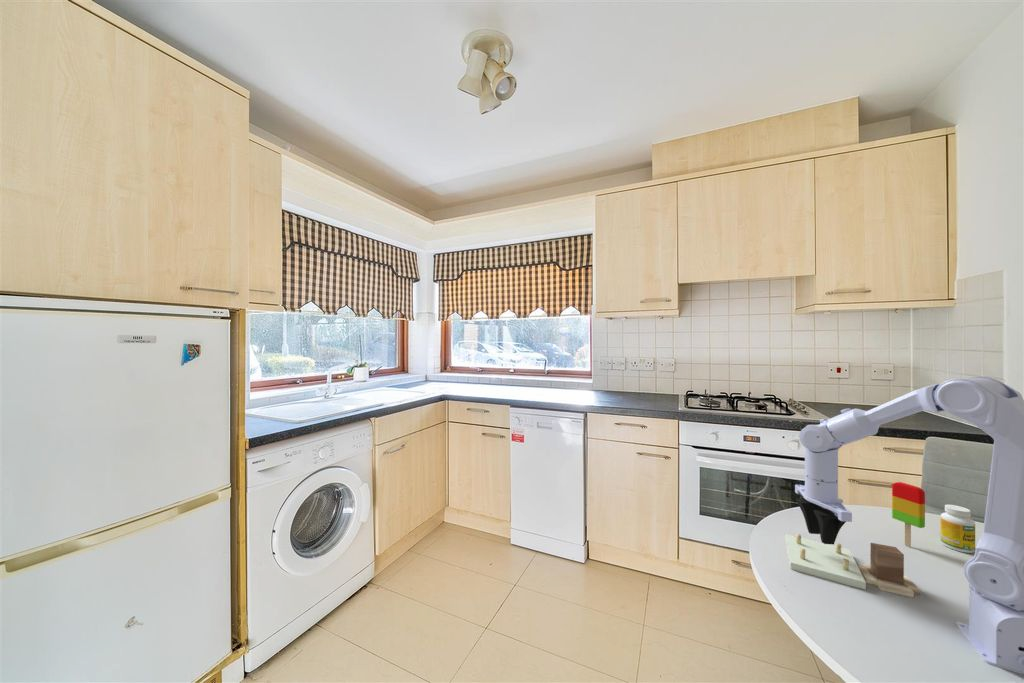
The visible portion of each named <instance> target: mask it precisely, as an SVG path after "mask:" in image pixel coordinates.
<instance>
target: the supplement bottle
mask: <svg viewBox="0 0 1024 683" xmlns="http://www.w3.org/2000/svg"><path fill="white" fill-rule="evenodd" d="M971 516H972V512H971V509H969V508H966V507H963V506H960V505H955V504H944V512H942V513H941V514H940V543H941V544H942V545H943V546H945V547H946V548H949V549H951V550H954V551H957V552H961V553H966V554H973V553H975V550H976V523H975V521H974V520H973V519H972V518H971Z"/></svg>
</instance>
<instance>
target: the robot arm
mask: <svg viewBox="0 0 1024 683" xmlns="http://www.w3.org/2000/svg"><path fill="white" fill-rule="evenodd" d="M944 411H945V412H947V413H948V414H950V415H953V416H955V417H958V418H960V419H962V420H965V421H966V422H969V423H972V424H973V425H975V426H976V427H977V428H979V429H980V430H981V431H983V432H984V433H985V434H987V435H988V436H990V437H991V438H992V439H993V447H992V455H991V464H990V474H989V480H988V488H987V497H986V498H987V499H986V503H985V504H986V506H985V512H984V513H985V514H984V521H983V522H984V523H983V528H982V529H983V531H982V534H981V536H980V538H979V540H978V542H977V544H976V545H975V552H974V555H973V556H972V558H970V559H969V560H967V561H966V562H965V564H964V566H963V573H964V576H965V579H966V580H967V582H968V624H966V623H963V622H960V621H957V622H956V626H957V627H958V629H959V630H960V631H961V633H962V634H963V635H964V637H965V638H966V639H967V641H968V642H969V644H971V646H972V647H973V648H974V650H975V651H976V653H977V654H978V656H980V658H981V659H982V661H983V662H984V663H986V664H988V665H990V666H995V667H996V668H997V667H998V668H1001V669H1004V670H1006V671H1010V672H1013V673H1017V674H1019V675H1020V674H1021V675H1024V398H1023V396H1022V394H1021V393H1020V391H1017V390H1016V389H1014V388H1013V387H1011V386H1010V385H1008V384H1005V383H1004V382H1002V381H1000V380H998V379H997V378H992V377H989V376H973V377H969V378H952V379H948V380H946V381H945V380H944V381H943V382H941V383H937V384H936V383H935V384H932V385H929V386H928V385H927V386H924V387H921V388H918V389H915V390H912V391H911V392H907V393H905V394H903V395H901V396H898V397H896V398H894V399H892V400H889V401H888V402H885V403H883V404H880V405H878V406H876V407H874V408H870V409H868V410H863V409H861V408H843V409H841V410H840V413H841V414H838V415H835V416H833V417H830V418H828V419H827V418H822V419H820V420H819V422H820V423H819V424H808V425H807V424H806V426H805V427H804V428H802V429H801V430H800V432H799V436H798V437H799V441H800V443H801V445H803V447H804V484H795V485H794V492H795V494H797V495H801V496H802V498H796V503H797V505H798V506H799V508H800V510H801V513H802V515H803V517H804V521H805V525H806V529H807V531H808V533H809V534H810V535H811V534H812V535H820V537H819V538H820V540H821V543H824V544H830V545H834V546H835V544H836V543H835V542H836V541H837V537H838V534H839V532H840V530H841V529H842V527H844V525H845V523H846V522H849V523H851V522H852V523H853V512H852V511H850V510H849V509H847V508H846V507H845V506H844V505H843V502H844V500H843V499H842V498H840V497H839V450H840V449H841V448H842V447H843V446H846V445H850V444H852V443H854V442H857V441H861V440H862V439H866V438H869V437H873V436H874V435H877V433H879V428H880V426H881V425H884V424H887V423H890V422H894V421H895V420H896V421H897V420H899V419H902V418H905V417H908V416H912V415H914V414H917V413H920V412H933V413H935V412H936V413H937V412H938V413H940V412H944ZM846 524H847V523H846Z"/></svg>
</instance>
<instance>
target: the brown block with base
mask: <svg viewBox="0 0 1024 683" xmlns="http://www.w3.org/2000/svg"><path fill="white" fill-rule="evenodd" d="M869 559H870V563H869V564H866V563H862V565H861V566H859V565H857V566H858V568H859V570H860V572H861V574H862V576H863V578H864V580H865V582H866V584H869V585H873V586H877V587H878V589H879V590H880V591H884V592H889V593H892V594H898V595H901V596H907V597H911V598H914V597H915V594H916V595H921V590H920V588H918V587H917V585H916V584H915V583H914V582H913V581H912V580H911V579H910V578H909V577H908V576H907V575H906V574H905V566H904V565H905V562H904V561H905V560H904V559H905V555H904V553H902V551H900V550H899V548H897V546H892V545H885V544H881V543H875V542H870V558H869Z"/></svg>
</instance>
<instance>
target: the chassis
mask: <svg viewBox="0 0 1024 683" xmlns="http://www.w3.org/2000/svg"><path fill="white" fill-rule="evenodd" d="M784 542H785V547H786V551H787V557H788V562H789V567H790V570H793V571H796V572H800V573H803V574H807V575H811V576H814V577H818V578H821V579H825V580H828V581H829V580H830V581H832V582H836V583H840V584H843V585H847V586H850V587H853V588H858V589H861V590H864V591H865V590H867V589H866V588H867V583H866V581H865V580H864V578H863V576H862V574H861V572H860V570H859V568H858V566H859V565H858V564H857V562H856V560H855V558H854V556H853V554H852V551H851V550H850V548H846V547H842V544H841V543H840V542H836V543H835V544H834V545H833V544H824V543H822V541H821V542H820V541H816V540H812V539H807V538H804V537H802V535H801V534H798V533H796V534H795V536H794V535H790V534H786V533H785V534H784Z"/></svg>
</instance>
